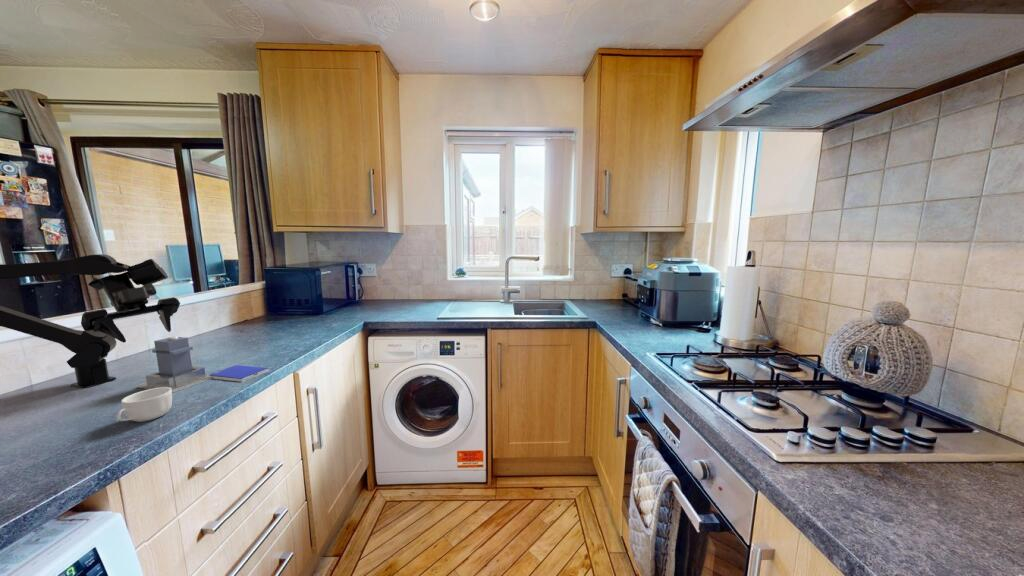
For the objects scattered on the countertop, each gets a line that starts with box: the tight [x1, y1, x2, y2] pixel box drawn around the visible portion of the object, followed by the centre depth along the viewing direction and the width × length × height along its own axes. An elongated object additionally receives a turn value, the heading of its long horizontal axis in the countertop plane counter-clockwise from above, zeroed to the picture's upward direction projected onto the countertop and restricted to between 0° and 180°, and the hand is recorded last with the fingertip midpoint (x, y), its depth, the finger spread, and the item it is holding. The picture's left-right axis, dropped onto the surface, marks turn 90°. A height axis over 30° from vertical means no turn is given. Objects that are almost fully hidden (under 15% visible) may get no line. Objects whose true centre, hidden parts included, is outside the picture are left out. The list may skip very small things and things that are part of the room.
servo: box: [151, 335, 194, 377], centre depth 94 cm, size 8×4×13 cm, turn 75°
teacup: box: [116, 387, 173, 423], centre depth 74 cm, size 10×8×5 cm
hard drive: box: [209, 364, 270, 383], centre depth 100 cm, size 2×8×12 cm
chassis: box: [137, 365, 214, 394], centre depth 95 cm, size 14×10×3 cm
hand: (148, 336), depth 94 cm, fingers open, 9 cm apart
